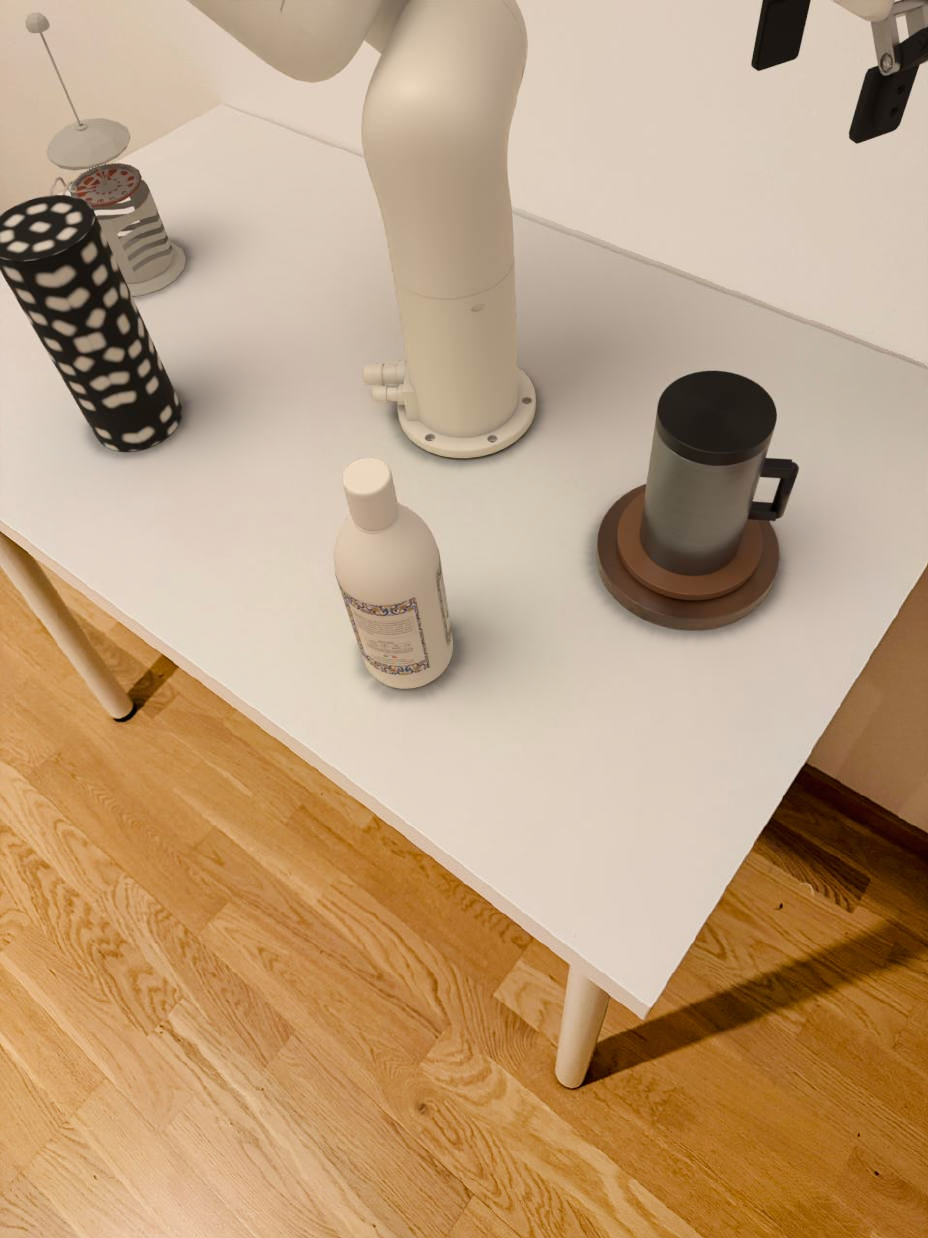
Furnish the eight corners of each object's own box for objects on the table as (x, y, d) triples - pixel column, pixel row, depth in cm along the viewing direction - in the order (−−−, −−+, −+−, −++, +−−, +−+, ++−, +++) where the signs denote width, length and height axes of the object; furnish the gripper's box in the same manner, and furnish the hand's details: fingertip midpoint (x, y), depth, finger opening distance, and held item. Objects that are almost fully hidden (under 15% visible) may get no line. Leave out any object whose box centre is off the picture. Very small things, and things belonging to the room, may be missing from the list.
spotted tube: (199, 401, 86) (116, 206, 69) (148, 461, 82) (47, 270, 65) (129, 379, 88) (33, 186, 72) (76, 438, 84) (-39, 247, 68)
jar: (620, 484, 74) (635, 349, 62) (769, 494, 73) (812, 356, 61) (612, 594, 68) (626, 468, 57) (773, 607, 67) (823, 479, 55)
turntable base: (594, 626, 69) (595, 615, 68) (597, 487, 77) (598, 475, 75) (783, 634, 67) (788, 623, 66) (768, 491, 75) (771, 479, 74)
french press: (204, 254, 99) (113, -2, 78) (131, 317, 94) (12, 61, 73) (140, 230, 102) (36, -22, 81) (65, 289, 97) (-66, 37, 76)
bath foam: (405, 598, 72) (364, 414, 55) (472, 644, 69) (450, 464, 52) (345, 658, 69) (282, 484, 52) (412, 708, 66) (368, 541, 50)
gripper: (1135, -263, 37) (970, 146, 51) (864, -343, 46) (788, 24, 60) (987, -222, 36) (860, 186, 50) (738, -313, 45) (691, 55, 59)
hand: (821, 97), depth 55 cm, fingers open, 9 cm apart
